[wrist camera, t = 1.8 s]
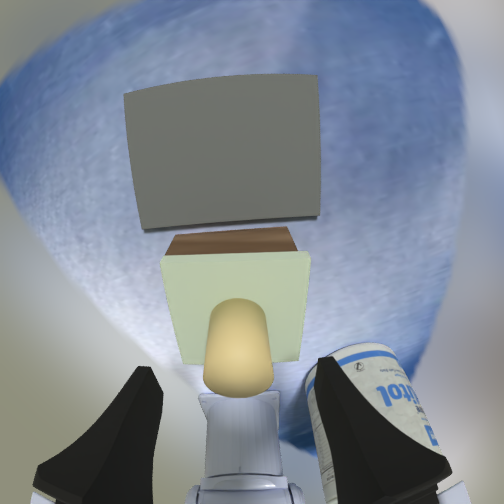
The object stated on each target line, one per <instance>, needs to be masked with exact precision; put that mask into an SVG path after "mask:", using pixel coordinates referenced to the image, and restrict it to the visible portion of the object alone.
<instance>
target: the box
mask: <svg viewBox="0 0 504 504" xmlns="http://www.w3.org/2000/svg"><path fill="white" fill-rule="evenodd" d="M292 251H298V250H297V248H296V245H295V243H294V241H293V239H292V237H291V234H290V232H289V230H288V228H287V226H285V227H270V228H255V229H241V230H227V231H215V232H202V233H190V234H178V235H175V237H174V238H173V240H172V242H171V244H170V246H169V248H168V250H167V252H166V254H165V256H170V255H200V254H231V253H261V252H292Z"/></svg>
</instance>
